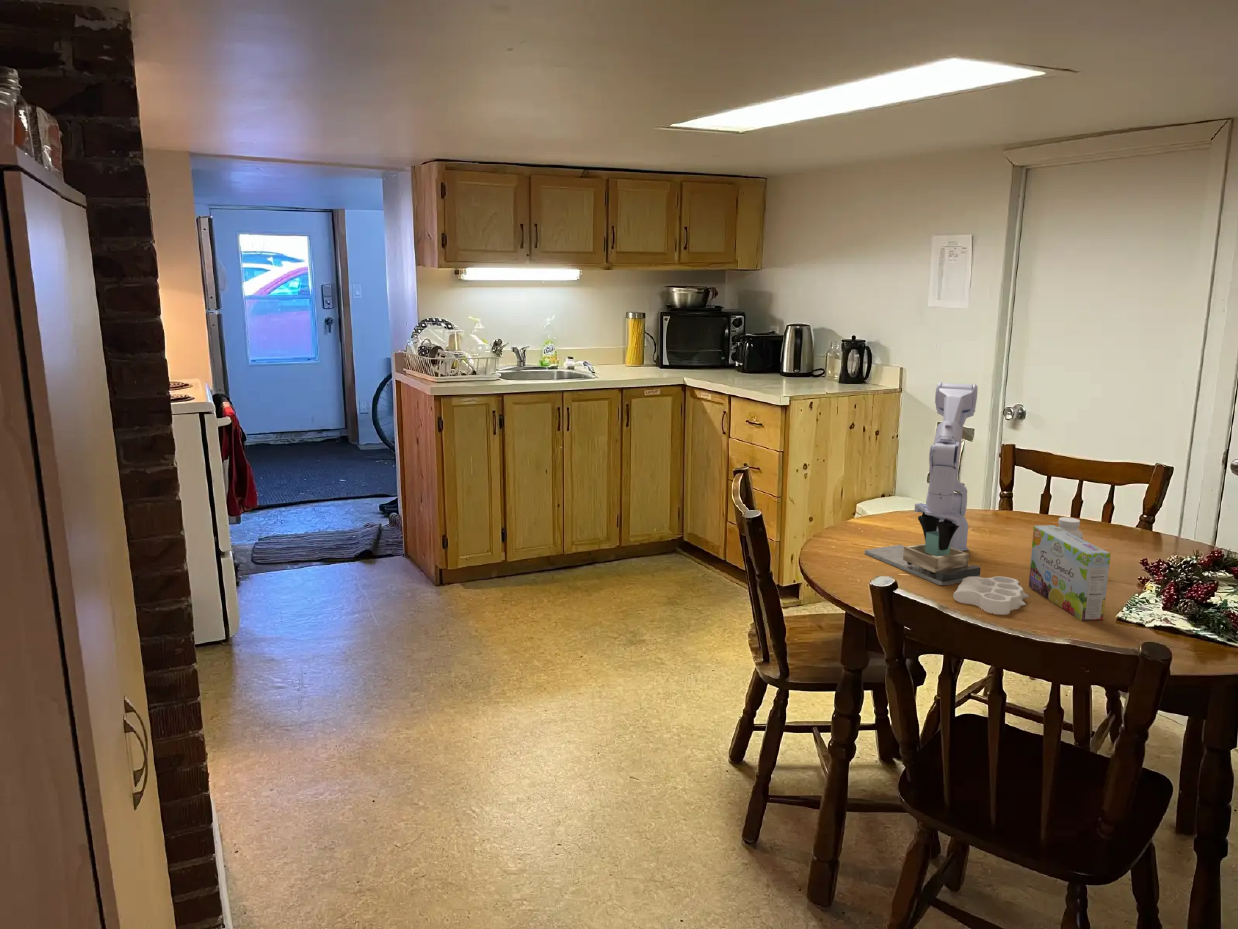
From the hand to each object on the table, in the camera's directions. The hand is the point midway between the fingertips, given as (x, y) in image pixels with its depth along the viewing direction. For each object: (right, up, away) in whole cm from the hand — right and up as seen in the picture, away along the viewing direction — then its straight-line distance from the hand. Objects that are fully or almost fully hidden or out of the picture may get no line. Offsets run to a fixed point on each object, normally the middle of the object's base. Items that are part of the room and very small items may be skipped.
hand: (936, 546), depth 213 cm
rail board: (-2, -5, +6) cm, 8 cm away
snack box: (+21, -11, -19) cm, 30 cm away
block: (0, -2, 0) cm, 2 cm away
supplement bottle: (+33, -6, +4) cm, 34 cm away
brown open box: (0, -5, +1) cm, 5 cm away
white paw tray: (+6, -11, -17) cm, 21 cm away
